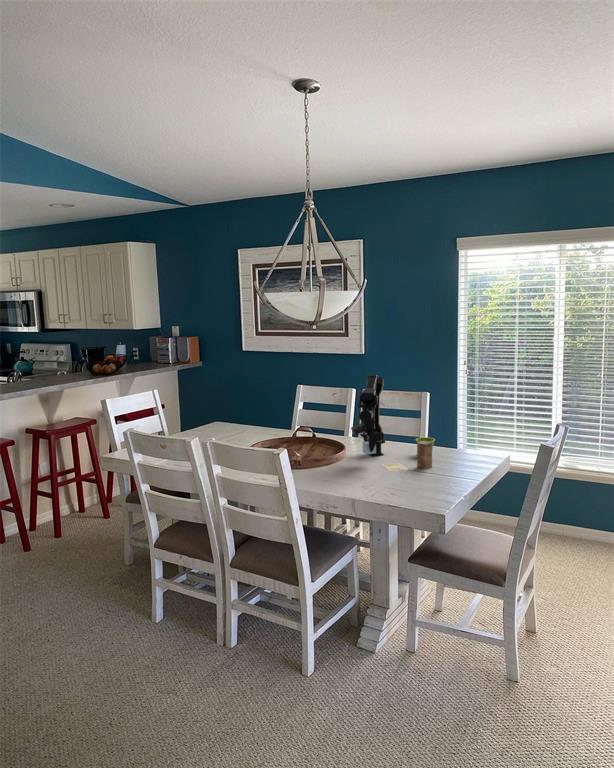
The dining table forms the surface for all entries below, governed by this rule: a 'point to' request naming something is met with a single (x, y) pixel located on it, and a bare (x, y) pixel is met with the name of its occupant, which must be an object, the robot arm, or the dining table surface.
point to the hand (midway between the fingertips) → (369, 450)
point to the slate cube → (366, 448)
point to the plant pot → (426, 440)
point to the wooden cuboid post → (424, 455)
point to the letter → (395, 467)
